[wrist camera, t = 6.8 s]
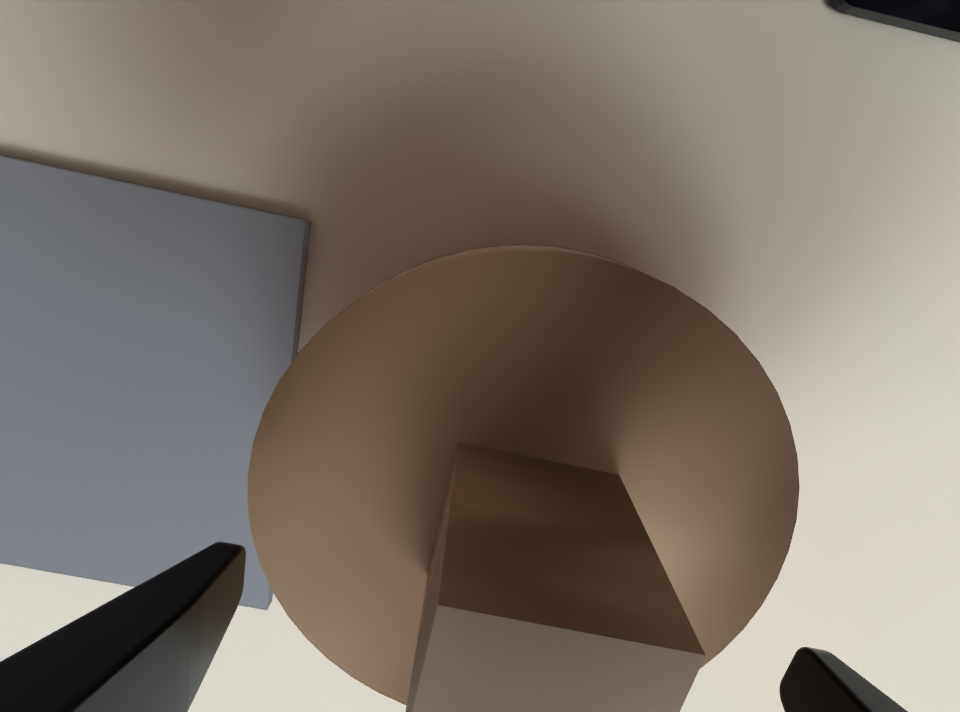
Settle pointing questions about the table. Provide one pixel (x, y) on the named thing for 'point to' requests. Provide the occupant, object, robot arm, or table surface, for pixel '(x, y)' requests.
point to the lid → (523, 486)
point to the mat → (135, 370)
